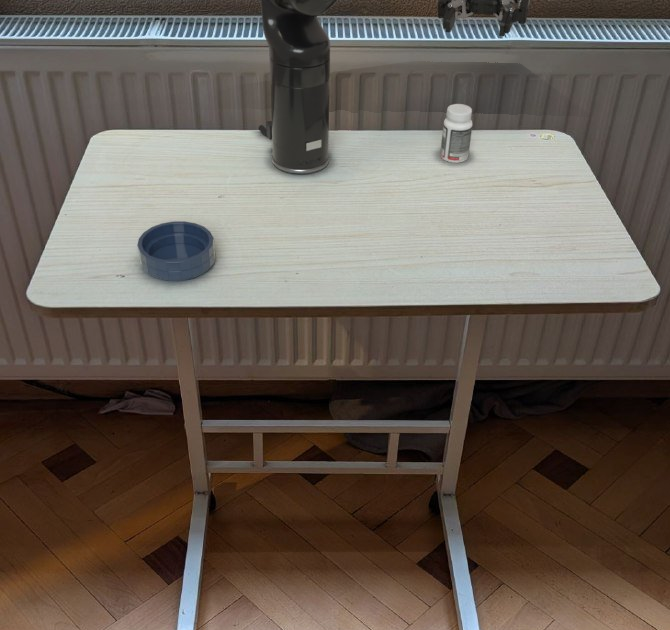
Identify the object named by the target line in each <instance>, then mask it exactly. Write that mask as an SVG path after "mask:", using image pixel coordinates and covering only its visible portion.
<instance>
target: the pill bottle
mask: <svg viewBox="0 0 670 630" xmlns="http://www.w3.org/2000/svg"><path fill="white" fill-rule="evenodd" d="M472 115H473V109H472V108H471V106H469V105H467V104H465V103H464V104H462V103H453V104H450V105H448V107H447V109H446V117H445V119H444V121H443V125H442V126H443V127H442V134H441V135H442V136H441V143H440V154H439V155H440V158H441V159H442V160H444V161H446V162H449V163H454V164H457V163H458V164H459V163H463V162H465V161H467V160H468V158H469V153H470V148H471V140H472V131H473V120H472Z"/></svg>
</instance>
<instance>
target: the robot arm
mask: <svg viewBox="0 0 670 630" xmlns="http://www.w3.org/2000/svg"><path fill="white" fill-rule="evenodd" d="M338 1H339V0H260V10H261V21H262V31H263V35H264V38H265V40H266V43H267V45H268V55H269V80H270V81H269V83H270V113H271V115H270V116H271V120H267V121H266V126H264V125H262V124H260V125H259V126H258V130H259V131H260V133H261V134H262V135H263V136H265V137H268V139H269V140H270V141H271V148H272V150H271V151H272V154H271V162H272V164H273V165H274V167H276V169H278V170H280V171H282V172H285V173H289V174H295V175H296V174H297V175H305V174H306V175H307V174H312V173H313V174H314V173H317V172H320V171H321V170H323V169H324V168H326V167H327V166H328V164H329V162H330V161H329V160H330V156H329V140H330V95H331V94H330V93H331V92H330V88H331V87H330V86H331V41H330V37H329V35H328V34H327V32H326V30H325V28H323V26H322V24H321V22H320V20H319V16H321V15H323V14H325V13H326V12H328V11H329V10H330V9H331V8H333V6H334V5H335V4H336V3H337V2H338ZM513 4H515V5H516V7H517V8H515V6H514V5H513ZM530 4H531V0H437V18H438V19H442V29H443V30H445V33H452V29H453V27H454V25H455V23H456V20H458V19H466V18H469V17H470V16H472V15H486V16H495V17H496V19H498V20H499V21H500V23H499V33H498V34H499V37H505V35H506V34H509V33H510V32H511V29H512V26H513V25H514V24H515V23H517V22H518V24H520V25H524V24H526V23H527V18H528V15H529V9H530V6H531V5H530ZM456 9H457V10H456Z"/></svg>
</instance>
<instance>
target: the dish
mask: <svg viewBox="0 0 670 630" xmlns="http://www.w3.org/2000/svg"><path fill="white" fill-rule="evenodd" d="M214 239H215V238H214V235H213V234H212V231H211V230H209V229H208V228H206V227H205V226H203V225H201V224H198V223H196V222H191V221H185V220H183V221H181V220H179V221H178V220H177V221H168V222H162V223H158V224H156V225H154V226H151V227H149V228H148V229H147V230H144V232H143V233H142V234H141V235H140V236H139V238H138V239H137V240H138V241H137V251H138V259H139V263H140V266H141V268H142V270H143V271H144V272H145V273H146V274H148V275H149V276H151V277H153V278H156V279H159V280H163V281H168V282H181V281H188V280H192V279H195V278H197V277H199V276H201V275H203V274H205V273H206V272H207V271H208V270H209V269H211V268H212V266H213V265H214V263H215V261H216V260H215V259H216V249H215V240H214Z"/></svg>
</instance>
